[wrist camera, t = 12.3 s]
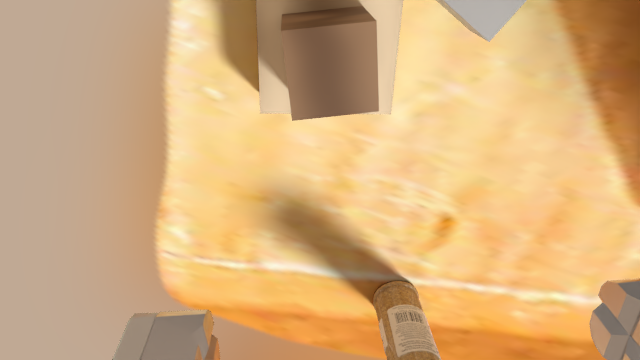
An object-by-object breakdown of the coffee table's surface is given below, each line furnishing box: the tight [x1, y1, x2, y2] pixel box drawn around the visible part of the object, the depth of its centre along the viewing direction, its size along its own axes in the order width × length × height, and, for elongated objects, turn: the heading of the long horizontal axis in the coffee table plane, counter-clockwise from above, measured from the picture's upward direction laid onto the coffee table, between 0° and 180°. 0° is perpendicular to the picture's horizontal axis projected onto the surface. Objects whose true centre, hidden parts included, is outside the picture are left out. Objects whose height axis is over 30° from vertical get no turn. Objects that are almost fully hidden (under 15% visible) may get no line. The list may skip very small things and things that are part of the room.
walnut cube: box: [281, 6, 379, 121], centre depth 27 cm, size 5×5×5 cm
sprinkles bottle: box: [373, 281, 441, 360], centre depth 39 cm, size 5×4×13 cm
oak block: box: [256, 0, 403, 114], centre depth 31 cm, size 9×9×4 cm
